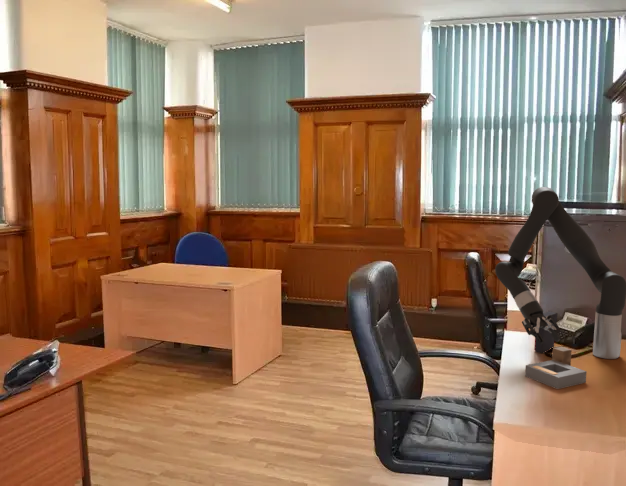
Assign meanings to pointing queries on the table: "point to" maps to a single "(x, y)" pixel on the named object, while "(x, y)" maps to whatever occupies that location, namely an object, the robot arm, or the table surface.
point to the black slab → (546, 336)
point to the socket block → (555, 374)
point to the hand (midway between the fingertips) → (550, 341)
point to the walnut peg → (562, 355)
